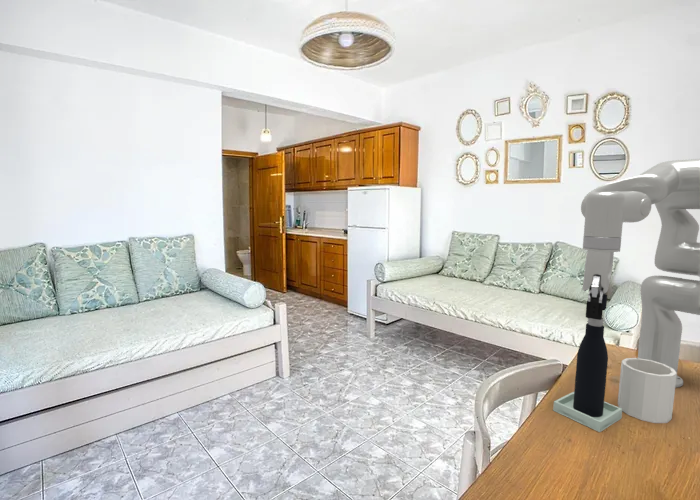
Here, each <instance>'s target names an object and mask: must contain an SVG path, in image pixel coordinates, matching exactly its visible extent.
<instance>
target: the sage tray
mask: <svg viewBox="0 0 700 500" xmlns="http://www.w3.org/2000/svg"><path fill="white" fill-rule="evenodd" d="M573 402H574V391H572V392H570V393H568V394H566V395H564V396H562V397H560V398H558V399H556V400H554V401H553V405H552V406H553V408H552V411H554V412H555V413H557V414H560V415H562V416H564V417H567V418H568V419H571V420H573V421H575V422H576V423H578V424H581V425H583V426H585V427H588V428H590V429H592V430H594V431H596V432H597V433H602V431H604V430H606V429H607V428H609V427H610V426H612V425H613V424H615V423H617V422H618V421H620V420H621V419H622V418H623V411H622V408H619V406H618V405H617V406H616V405H614V404H612V403H609V402H606V401H604V408H603V415H602V416H601V417H591V416H588V415H586V414H584V413H582V412H579V411H577V410H575V409H574V408H573Z"/></svg>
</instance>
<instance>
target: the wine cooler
mask: <svg viewBox="0 0 700 500" xmlns="http://www.w3.org/2000/svg"><path fill="white" fill-rule="evenodd" d="M676 376H678V372H677V373H676V371H675V370H674V369H673V368H671V367H669V366H667V365H665V364H662V363H659V362H655V361H652V360H647V359H640V358H638V357H626V358H624V359H622V360H621V365H620V375H619V385H618V395H617V407H619V408H622V413H625V414H626V415H628V416H630V417H632V418H635V419H638V420H641V421H644V422H648V423H653V424H668V423H669V422H670V421H671V420H672V418H673V410H674V401H675V392H676V388H675V385H676Z"/></svg>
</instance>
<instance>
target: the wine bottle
mask: <svg viewBox="0 0 700 500" xmlns="http://www.w3.org/2000/svg"><path fill="white" fill-rule="evenodd" d="M599 298H600V297H599ZM607 302H608V295H607V294H603V298H602V303H603V309H605V310H606V309H607ZM603 316H604V315H603V314H602V319H601V320H597V319H591V318H587V323H585V333H584V336H583V337H582V339H581V342H580V344H579V346H578V349H577V357H576V365H575V366H576V369H575V379H574V389H573V390H574V391H573V392H574V402H573V408H574V409H575V410H577V411H579V412H582V413H584V414H586V415H588V416H591V417H601V416H602V415H603V408H604V402H605V397H606V395H605V394H606V385H607V374H608V366H609V365H608V363H609V355H608V348H607V345H606V341H605V338H604V335H605V334H604V333H605V326H604V318H603Z"/></svg>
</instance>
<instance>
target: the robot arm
mask: <svg viewBox="0 0 700 500" xmlns="http://www.w3.org/2000/svg"><path fill="white" fill-rule="evenodd" d="M580 205H581V206H580V211H581V215H582V216H583V218H584V226H583V227H584V228H583V237H582V240H583V241H582V250H584V251H587V252H586V255H585V264H584V272H583V273H584V274H583V281H582V283H583V284H582V291H583V292H587V291H588V295H587V296H588V297H587V300H586V306H585V318H587V319H588V318H591V319H597V320H601V319H602V318H603V316H602V315H603V311H606V309H603V303H602V298H603V294H606V293H608V290H609V288H610V283H611V279H612V273H613V263H614V255H615V254H614V253H618V252H621V247H622V246H621V245H622V236H623V235H622V234H623V223H639V222H641V221H643V220H645V219H646V218H647V217H648V216H649V215H650V213H651V210H652V205H654V206H655V208H656V210H657V212H658V215H659V218H660V222H661V228H660V233H659V237H658V241H657V246H656V250H655V255H654V266H655V267H656V268H657V269H658V270H659V271H662V272H667V273H672V274H680V275H688V276H694V277H695V276H696V277H699V278H700V242H697V240H698V235H699V231H700V224H699V223H698V222H697V221H698V220H697V219H696V218H695V217H694V216H693V214H691V213H690V212H689V211H688V210H700V158H691V159H690V158H689V159H677V160H668V161H662V162H659V163H657V164H656V165H654V166H652V167H650V168H649V169H647V170H644V172H642V173H640V174H638V175H634V176H630V177H627V178H624V179H620V180H615V181H612V182H608V183H605V184H602V185H600V186H597V187H596V188H594V189H592V190H591V191H590V192H588V193H587V194H586V195H585V196H584V198H583V199H582V202H581V204H580ZM639 290H640V299H641V321H640V332H639V339H638V340H639V341H638V351H637V358H640V359H647V360H652V361H655V362H659V363H662V364H665V365H667V366H669V367H671V368H673V369H674V370H675V371H676V373H677V374H678V367H679V362H680V361H679V359H680V352H681V351H680V350H681V341H682V333H683V324H682V321H681V319H680V317H679V316H678V314H677V312H681V313H686V314H691V315H696V316H700V280H695V279H690V278H689V279H688V278H682V277H675V276H670V275H669V276H668V275H650V276H648V277H646V278H645V279H644V280H642V282H641V284H640V289H639ZM606 295H607V294H606ZM599 297H600V298H599ZM683 385H684V379H683V378H681V376H679V375H677V376H676V385H675V389H676V388H680V387H683Z"/></svg>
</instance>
